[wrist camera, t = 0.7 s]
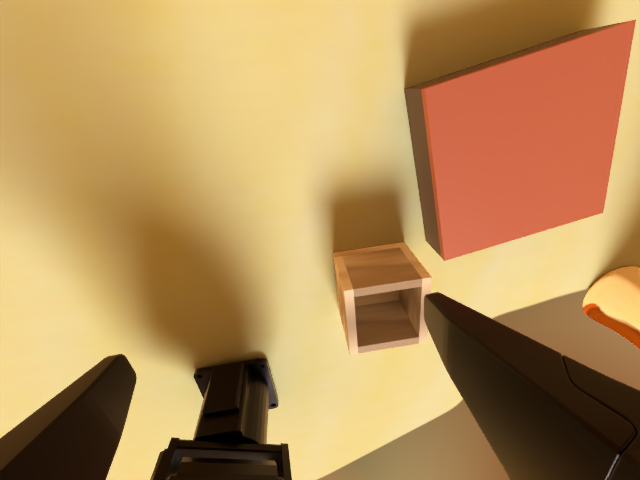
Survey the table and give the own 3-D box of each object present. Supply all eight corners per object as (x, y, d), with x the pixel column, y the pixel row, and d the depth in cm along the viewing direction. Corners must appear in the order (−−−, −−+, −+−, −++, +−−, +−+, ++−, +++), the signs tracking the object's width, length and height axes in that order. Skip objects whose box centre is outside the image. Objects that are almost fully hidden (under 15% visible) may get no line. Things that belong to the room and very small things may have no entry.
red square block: (560, 196, 23) (603, 212, 20) (423, 238, 24) (444, 260, 21) (575, 31, 18) (635, 19, 15) (401, 89, 19) (425, 89, 16)
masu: (402, 298, 26) (427, 342, 21) (338, 308, 26) (349, 354, 21) (403, 241, 23) (431, 277, 19) (332, 252, 23) (343, 290, 19)
